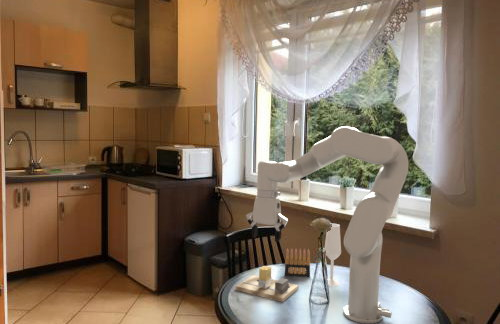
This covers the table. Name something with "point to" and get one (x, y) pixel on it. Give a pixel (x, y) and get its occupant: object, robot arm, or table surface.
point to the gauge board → (268, 288)
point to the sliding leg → (264, 277)
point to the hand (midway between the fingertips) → (266, 238)
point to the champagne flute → (333, 249)
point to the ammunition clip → (297, 264)
